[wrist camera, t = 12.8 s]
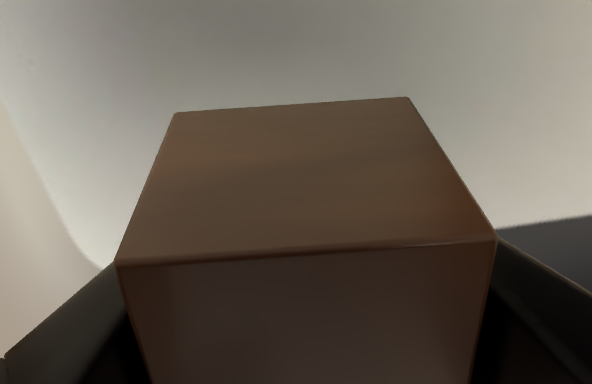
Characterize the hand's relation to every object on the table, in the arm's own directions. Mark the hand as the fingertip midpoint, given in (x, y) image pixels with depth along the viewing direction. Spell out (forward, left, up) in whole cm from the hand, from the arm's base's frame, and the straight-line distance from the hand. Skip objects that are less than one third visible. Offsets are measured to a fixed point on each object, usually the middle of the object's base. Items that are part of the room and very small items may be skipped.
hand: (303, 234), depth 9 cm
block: (0, 0, -1) cm, 1 cm away
